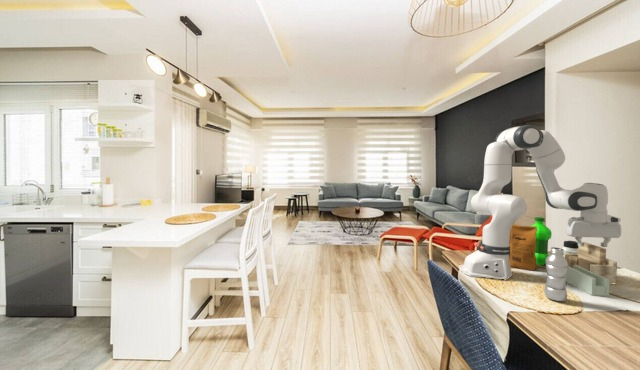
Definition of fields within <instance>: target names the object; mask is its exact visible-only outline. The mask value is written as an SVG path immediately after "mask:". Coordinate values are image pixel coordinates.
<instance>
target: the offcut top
mask: <svg viewBox="0 0 640 370" xmlns="http://www.w3.org/2000/svg"><path fill="white" fill-rule="evenodd" d="M579 259H583V258H580V257H577V256H569V262H572V263H574V264H578V260H579Z"/></svg>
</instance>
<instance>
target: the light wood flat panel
mask: <svg viewBox="0 0 640 370" xmlns="http://www.w3.org/2000/svg"><path fill="white" fill-rule="evenodd" d="M582 243H584V246H579V248H578V257H580V258H583V259H585V260H589V261H591V262H594V263H596V264H597V265H605V262H606V258H607V248H606V247H602V246H598V245H595V244H592V243H589V242H586V241H582Z"/></svg>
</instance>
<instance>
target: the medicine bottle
mask: <svg viewBox="0 0 640 370" xmlns="http://www.w3.org/2000/svg"><path fill="white" fill-rule="evenodd" d="M562 242H563V244H562V246H563V247H560V248H561V249H564V253H566V254H578V249H579V246H578V242H577V240H567V239H566V240H564V241H562Z"/></svg>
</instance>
